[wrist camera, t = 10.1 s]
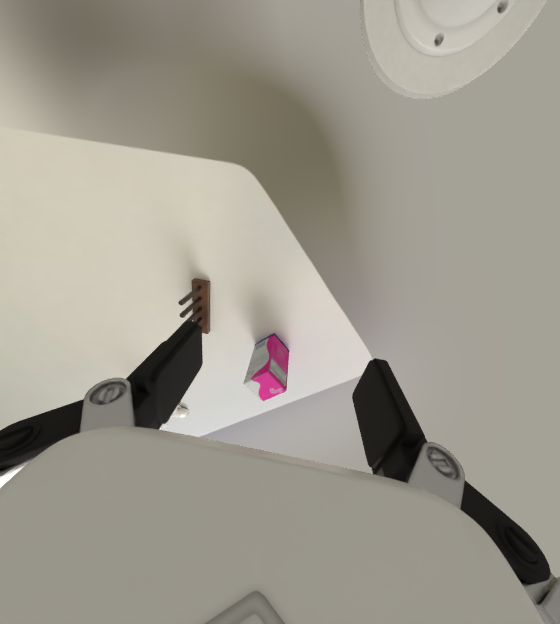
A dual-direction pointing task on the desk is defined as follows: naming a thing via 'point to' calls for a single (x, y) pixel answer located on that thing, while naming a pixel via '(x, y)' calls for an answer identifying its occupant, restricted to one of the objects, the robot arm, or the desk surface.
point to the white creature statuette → (177, 414)
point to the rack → (199, 304)
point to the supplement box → (268, 368)
